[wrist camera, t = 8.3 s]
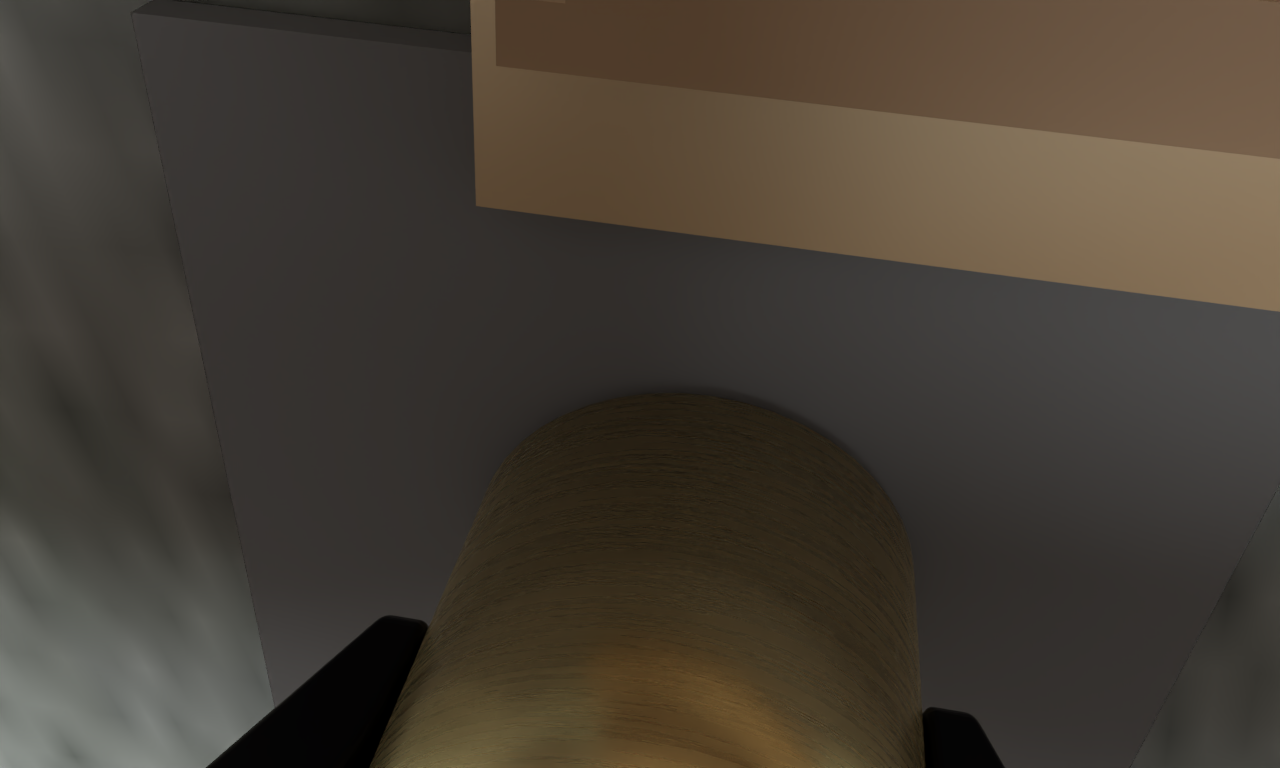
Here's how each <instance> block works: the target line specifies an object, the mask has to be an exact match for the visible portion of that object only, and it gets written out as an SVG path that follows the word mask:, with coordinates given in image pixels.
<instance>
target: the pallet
mask: <svg viewBox="0 0 1280 768" xmlns="http://www.w3.org/2000/svg"><path fill="white" fill-rule="evenodd" d="M470 12H471V47H472V82H473V117H474V152H475V188H476V206H480V207H488V208H495V209H503V210H511V211H518V212H526V213H533V214H541V215H549V216H556V217H564V218H571V219H579V220H587V221H594V222H602V223H609V224H617V225H625V226H632V227H640V228H647V229H655V230H663V231H670V232H678V233H685V234H693V235H701V236H708V237H716V238H723V239H731V240H739V241H746V242H754V243H762V244H769V245H777V246H784V247H792V248H800V249H807V250H815V251H822V252H830V253H838V254H845V255H853V256H860V257H868V258H876V259H883V260H891V261H898V262H906V263H914V264H921V265H929V266H936V267H944V268H952V269H959V270H967V271H974V272H982V273H990V274H997V275H1005V276H1012V277H1020V278H1028V279H1035V280H1043V281H1050V282H1058V283H1066V284H1073V285H1081V286H1088V287H1096V288H1104V289H1111V290H1119V291H1126V292H1134V293H1142V294H1149V295H1157V296H1164V297H1172V298H1180V299H1187V300H1195V301H1202V302H1210V303H1218V304H1225V305H1233V306H1240V307H1248V308H1256V309H1263V310H1271V311H1278V312H1280V0H470Z"/></svg>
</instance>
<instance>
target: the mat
mask: <svg viewBox="0 0 1280 768" xmlns="http://www.w3.org/2000/svg"><path fill="white" fill-rule="evenodd" d="M131 17H132V21H133V26H134V31H135V36H136V41H137V46H138V50H139V55H140V60H141V65H142V70H143V74H144V79H145V84H146V89H147V94H148V99H149V103H150V108H151V113H152V118H153V123H154V128H155V132H156V137H157V142H158V147H159V152H160V156H161V161H162V166H163V171H164V176H165V181H166V185H167V190H168V195H169V200H170V205H171V209H172V214H173V219H174V224H175V229H176V234H177V238H178V243H179V248H180V253H181V258H182V262H183V267H184V272H185V277H186V282H187V287H188V291H189V296H190V301H191V306H192V311H193V316H194V320H195V325H196V330H197V335H198V340H199V344H200V349H201V354H202V359H203V364H204V369H205V373H206V378H207V383H208V388H209V393H210V397H211V402H212V407H213V412H214V417H215V422H216V426H217V431H218V436H219V441H220V446H221V450H222V455H223V460H224V465H225V470H226V475H227V479H228V484H229V489H230V494H231V499H232V504H233V508H234V513H235V518H236V523H237V528H238V532H239V537H240V542H241V547H242V552H243V557H244V561H245V566H246V571H247V576H248V581H249V585H250V590H251V595H252V600H253V605H254V610H255V614H256V619H257V624H258V629H259V634H260V638H261V643H262V648H263V653H264V658H265V663H266V667H267V672H268V677H269V682H270V687H271V692H272V696H273V701H274V706H275V708H276V707H277V706H278V705H279V704H280V703H281V702H283V701H284V700H285V699H286V698H287V697H288V696H290V695H291V694H292V693H293V692H294V691H295V690H296V689H298V688H299V687H300V686H301V685H302V684H303V683H305V682H306V681H307V680H308V679H309V678H310V677H312V676H313V675H314V674H315V673H316V672H317V671H318V670H320V669H321V668H322V667H323V666H324V665H325V664H327V663H328V662H329V661H330V660H331V659H332V658H334V657H335V656H336V655H337V654H338V653H339V652H341V651H342V650H343V649H344V648H345V647H346V646H347V645H349V644H350V643H351V642H352V641H353V640H354V639H356V638H357V637H358V636H359V635H360V634H361V633H363V632H364V631H365V630H366V629H367V628H368V627H369V626H371V625H372V624H373V623H374V622H375V621H377V620H378V619H379V618H381V617H383V616H386V615H395V616H401V617H406V618H412V619H418V620H422V621H424V622H426V623H427V625H428V627H429V625H430V623H431V620H432V618H433V616H434V613H435V611H436V609H437V606H438V604H439V602H440V599H441V597H442V595H443V592H444V590H445V588H446V585H447V583H448V580H449V578H450V576H451V573H452V571H453V569H454V566H455V564H456V562H457V559H458V557H459V555H460V552H461V550H462V548H463V545H464V543H465V540H466V538H467V536H468V533H469V531H470V529H471V526H472V524H473V522H474V519H475V517H476V515H477V512H478V510H479V508H480V505H481V503H482V501H483V498H484V496H485V494H486V491H487V489H488V487H489V484H490V482H491V480H492V478H493V476H494V475H495V473H496V472H497V470H498V469H499V467H500V466H501V464H502V463H503V461H504V460H505V459H506V457H507V456H508V455H509V454H510V453H511V452H512V451H513V450H514V449H515V448H516V447H517V446H518V445H519V444H520V443H521V442H522V441H523V440H525V439H526V438H527V437H529V436H530V435H531V434H533V433H534V432H535V431H536V430H538V429H539V428H540V427H542V426H544V425H546V424H548V423H549V422H551V421H553V420H555V419H557V418H558V417H560V416H562V415H564V414H566V413H569V412H572V411H574V410H577V409H579V408H582V407H585V406H587V405H590V404H594V403H598V402H602V401H606V400H610V399H614V398H618V397H626V396H633V395H641V394H656V393H683V394H694V395H705V396H714V397H719V398H723V399H728V400H733V401H738V402H743V403H747V404H750V405H753V406H756V407H759V408H762V409H766V410H769V411H772V412H775V413H777V414H779V415H782V416H784V417H786V418H789V419H791V420H793V421H795V422H798V423H800V424H802V425H804V426H806V427H808V428H809V429H811V430H813V431H814V432H816V433H818V434H820V435H821V436H823V437H825V438H827V439H828V440H830V441H831V442H833V443H834V444H835V445H837V446H838V447H839V448H841V449H842V450H843V451H845V452H846V453H847V454H849V455H850V456H851V457H853V458H854V459H855V460H856V461H857V462H858V463H859V464H860V465H861V466H862V467H863V468H864V469H865V470H866V471H867V472H868V473H869V474H870V475H871V476H872V477H873V478H874V479H875V480H876V482H877V483H878V484H879V486H880V487H881V488H882V489H883V491H884V492H885V493H886V495H887V496H888V497H889V498H890V500H891V502H892V504H893V506H894V507H895V509H896V511H897V513H898V514H899V516H900V518H901V520H902V522H903V525H904V528H905V531H906V533H907V536H908V539H909V542H910V546H911V552H912V558H913V563H914V578H915V595H916V612H917V629H918V647H919V664H920V681H921V698H922V714H923V713H924V711H925V710H926V709H927V708H929V707H938V708H944V709H950V710H956V711H962V712H966V713H969V714H971V715H972V716H974V717H975V718H976V719H977V720H978V722H979V724H980V725H981V727H982V729H983V730H984V732H985V734H986V736H987V737H988V739H989V741H990V743H991V744H992V746H993V748H994V749H995V751H996V753H997V755H998V756H999V758H1000V760H1001V762H1002V763H1003V765H1004V767H1005V768H1130V766H1131V764H1132V763H1133V761H1134V759H1135V757H1136V755H1137V753H1138V751H1139V749H1140V747H1141V746H1142V744H1143V742H1144V740H1145V738H1146V736H1147V734H1148V732H1149V730H1150V729H1151V727H1152V725H1153V723H1154V721H1155V719H1156V717H1157V715H1158V714H1159V712H1160V710H1161V708H1162V706H1163V704H1164V702H1165V700H1166V698H1167V697H1168V695H1169V693H1170V691H1171V689H1172V687H1173V685H1174V683H1175V681H1176V680H1177V678H1178V676H1179V674H1180V672H1181V670H1182V668H1183V666H1184V664H1185V663H1186V661H1187V659H1188V657H1189V655H1190V653H1191V651H1192V649H1193V647H1194V646H1195V644H1196V642H1197V640H1198V638H1199V636H1200V634H1201V632H1202V630H1203V629H1204V627H1205V625H1206V623H1207V621H1208V619H1209V617H1210V615H1211V613H1212V612H1213V610H1214V608H1215V606H1216V604H1217V602H1218V600H1219V598H1220V596H1221V595H1222V593H1223V591H1224V589H1225V587H1226V585H1227V583H1228V581H1229V579H1230V578H1231V576H1232V574H1233V572H1234V570H1235V568H1236V566H1237V564H1238V562H1239V561H1240V559H1241V557H1242V555H1243V553H1244V551H1245V549H1246V547H1247V545H1248V544H1249V542H1250V540H1251V538H1252V536H1253V534H1254V532H1255V530H1256V528H1257V527H1258V525H1259V523H1260V521H1261V519H1262V517H1263V515H1264V513H1265V511H1266V510H1267V508H1268V506H1269V504H1270V502H1271V500H1272V498H1273V496H1274V494H1275V493H1276V491H1277V489H1278V487H1279V485H1280V312H1278V311H1271V310H1263V309H1256V308H1248V307H1240V306H1233V305H1225V304H1218V303H1210V302H1202V301H1195V300H1187V299H1180V298H1172V297H1164V296H1157V295H1149V294H1142V293H1134V292H1126V291H1119V290H1111V289H1104V288H1096V287H1088V286H1081V285H1073V284H1066V283H1058V282H1050V281H1043V280H1035V279H1028V278H1020V277H1012V276H1005V275H997V274H990V273H982V272H974V271H967V270H959V269H952V268H944V267H936V266H929V265H921V264H914V263H906V262H898V261H891V260H883V259H876V258H868V257H860V256H853V255H845V254H838V253H830V252H822V251H815V250H807V249H800V248H792V247H784V246H777V245H769V244H762V243H754V242H746V241H739V240H731V239H723V238H716V237H708V236H701V235H693V234H685V233H678V232H670V231H663V230H655V229H647V228H640V227H632V226H625V225H617V224H609V223H602V222H594V221H587V220H579V219H571V218H564V217H556V216H549V215H541V214H533V213H526V212H518V211H511V210H503V209H495V208H488V207H480V206H476V188H475V152H474V117H473V82H472V47H471V35H467V34H458V33H449V32H441V31H432V30H424V29H415V28H406V27H398V26H389V25H381V24H372V23H363V22H355V21H346V20H338V19H329V18H320V17H312V16H303V15H295V14H286V13H277V12H269V11H260V10H252V9H243V8H234V7H226V6H217V5H209V4H200V3H191V2H183V1H174V0H153V1H151V2H149V3H147V4H145V5H144V6H142V7H140V8H138V9H136V10H134V11H133V12H131Z"/></svg>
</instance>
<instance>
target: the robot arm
mask: <svg viewBox="0 0 1280 768" xmlns="http://www.w3.org/2000/svg"><path fill="white" fill-rule="evenodd" d="M427 630H428V625H427V623H426V622H424V621H422V620H418V619H412V618H406V617H401V616H395V615H386V616H383V617H381V618H379V619H378V620H377V621H375V622H374V623H373V624H372V625H371V626H369V627H368V628H367V629H366V630H365V631H364V632H363V633H361V634H360V635H359V636H358V637H357V638H356V639H354V640H353V641H352V642H351V643H350V644H349V645H347V646H346V647H345V648H344V649H343V650H342V651H341V652H339V653H338V654H337V655H336V656H335V657H334V658H332V659H331V660H330V661H329V662H328V663H327V664H325V665H324V666H323V667H322V668H321V669H320V670H318V671H317V672H316V673H315V674H314V675H313V676H312V677H310V678H309V679H308V680H307V681H306V682H305V683H303V684H302V685H301V686H300V687H299V688H298V689H296V690H295V691H294V692H293V693H292V694H291V695H290V696H288V697H287V698H286V699H285V700H284V701H283V702H281V703H280V704H279V705H278V706H277V707H276V708H274V709H273V710H272V711H271V712H270V713H269V714H267V715H266V716H265V717H264V718H263V719H262V720H261V721H259V722H258V723H257V724H256V725H255V726H254V727H252V728H251V729H250V730H249V731H248V732H247V733H245V734H244V735H243V736H242V737H241V738H240V739H239V740H237V741H236V742H235V743H234V744H233V745H232V746H230V747H229V748H228V749H227V750H226V751H225V752H223V753H222V754H221V755H220V756H219V757H218V758H216V759H215V760H214V761H213V762H212V763H211V764H210V765H208V766H207V767H206V768H369V766H370V764H371V762H372V759H373V757H374V754H375V752H376V750H377V747H378V745H379V743H380V740H381V738H382V736H383V733H384V731H385V729H386V726H387V724H388V722H389V719H390V717H391V714H392V712H393V710H394V707H395V705H396V703H397V700H398V698H399V696H400V693H401V691H402V689H403V686H404V684H405V682H406V679H407V677H408V675H409V672H410V670H411V667H412V665H413V663H414V660H415V658H416V656H417V653H418V651H419V649H420V646H421V644H422V642H423V639H424V637H425V635H426V632H427ZM922 716H923V733H924V750H925V767H926V768H1005V767H1004V765H1003V763H1002V762H1001V760H1000V758H999V756H998V755H997V753H996V751H995V749H994V748H993V746H992V744H991V743H990V741H989V739H988V737H987V736H986V734H985V732H984V730H983V729H982V727H981V725H980V724H979V722H978V720H977V719H976V718H975V717H974V716H972V715H971V714H969V713H966V712H962V711H956V710H950V709H944V708H938V707H929V708H927V709H926V710H925V711H924V713H923V714H922Z"/></svg>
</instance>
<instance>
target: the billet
mask: <svg viewBox="0 0 1280 768" xmlns="http://www.w3.org/2000/svg"><path fill="white" fill-rule="evenodd" d="M369 768H926V767H925V750H924V733H923V716H922V698H921V681H920V664H919V647H918V629H917V612H916V595H915V578H914V563H913V558H912V552H911V546H910V542H909V539H908V536H907V533H906V531H905V528H904V525H903V522H902V520H901V518H900V516H899V514H898V513H897V511H896V509H895V507H894V506H893V504H892V502H891V500H890V498H889V497H888V496H887V495H886V493H885V492H884V491H883V489H882V488H881V487H880V486H879V484H878V483H877V482H876V480H875V479H874V478H873V477H872V476H871V475H870V474H869V473H868V472H867V471H866V470H865V469H864V468H863V467H862V466H861V465H860V464H859V463H858V462H857V461H856V460H855V459H854V458H853V457H851V456H850V455H849V454H847V453H846V452H845V451H843V450H842V449H841V448H839V447H838V446H837V445H835V444H834V443H833V442H831V441H830V440H828V439H827V438H825V437H823V436H821V435H820V434H818V433H816V432H814V431H813V430H811V429H809V428H808V427H806V426H804V425H802V424H800V423H798V422H795V421H793V420H791V419H789V418H786V417H784V416H782V415H779V414H777V413H775V412H772V411H769V410H766V409H762V408H759V407H756V406H753V405H750V404H747V403H743V402H738V401H733V400H728V399H723V398H719V397H714V396H705V395H694V394H683V393H656V394H641V395H633V396H626V397H618V398H614V399H610V400H606V401H602V402H598V403H594V404H590V405H587V406H585V407H582V408H579V409H577V410H574V411H572V412H569V413H566V414H564V415H562V416H560V417H558V418H557V419H555V420H553V421H551V422H549V423H548V424H546V425H544V426H542V427H540V428H539V429H538V430H536V431H535V432H534V433H533V434H531V435H530V436H529V437H527V438H526V439H525V440H523V441H522V442H521V443H520V444H519V445H518V446H517V447H516V448H515V449H514V450H513V451H512V452H511V453H510V454H509V455H508V456H507V457H506V459H505V460H504V461H503V463H502V464H501V466H500V467H499V469H498V470H497V472H496V473H495V475H494V476H493V478H492V480H491V482H490V484H489V487H488V489H487V491H486V494H485V496H484V498H483V501H482V503H481V505H480V508H479V510H478V512H477V515H476V517H475V519H474V522H473V524H472V526H471V529H470V531H469V533H468V536H467V538H466V540H465V543H464V545H463V548H462V550H461V552H460V555H459V557H458V559H457V562H456V564H455V566H454V569H453V571H452V573H451V576H450V578H449V580H448V583H447V585H446V588H445V590H444V592H443V595H442V597H441V599H440V602H439V604H438V606H437V609H436V611H435V613H434V616H433V618H432V620H431V623H430V625H429V627H428V630H427V632H426V635H425V637H424V639H423V642H422V644H421V646H420V649H419V651H418V653H417V656H416V658H415V660H414V663H413V665H412V667H411V670H410V672H409V675H408V677H407V679H406V682H405V684H404V686H403V689H402V691H401V693H400V696H399V698H398V700H397V703H396V705H395V707H394V710H393V712H392V714H391V717H390V719H389V722H388V724H387V726H386V729H385V731H384V733H383V736H382V738H381V740H380V743H379V745H378V747H377V750H376V752H375V754H374V757H373V759H372V762H371V764H370V766H369Z"/></svg>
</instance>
